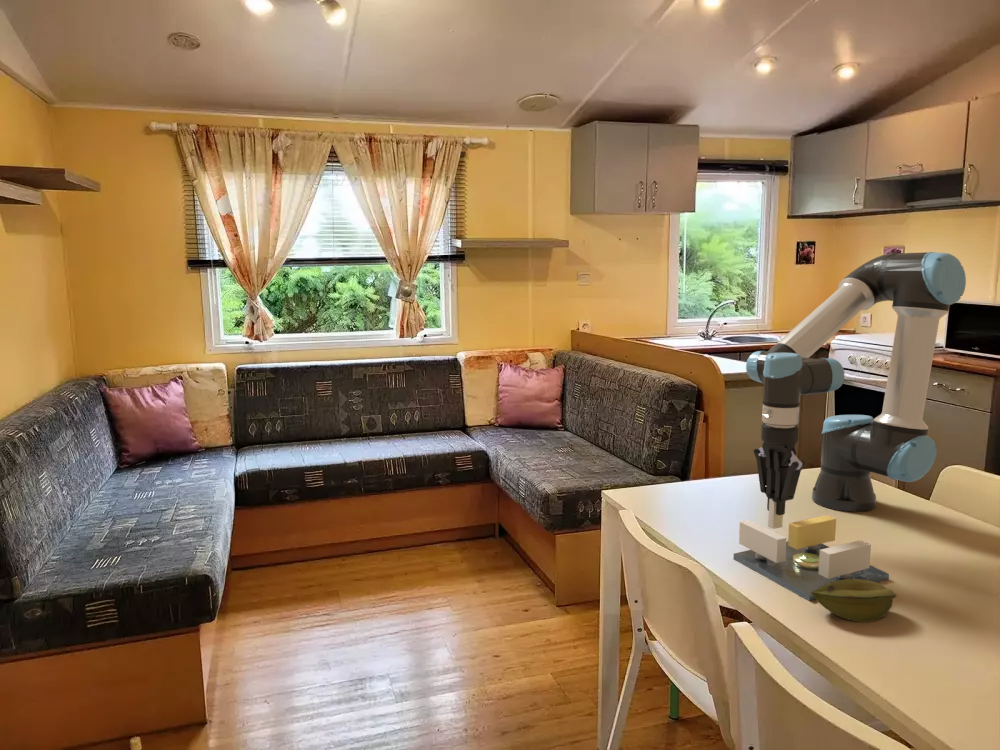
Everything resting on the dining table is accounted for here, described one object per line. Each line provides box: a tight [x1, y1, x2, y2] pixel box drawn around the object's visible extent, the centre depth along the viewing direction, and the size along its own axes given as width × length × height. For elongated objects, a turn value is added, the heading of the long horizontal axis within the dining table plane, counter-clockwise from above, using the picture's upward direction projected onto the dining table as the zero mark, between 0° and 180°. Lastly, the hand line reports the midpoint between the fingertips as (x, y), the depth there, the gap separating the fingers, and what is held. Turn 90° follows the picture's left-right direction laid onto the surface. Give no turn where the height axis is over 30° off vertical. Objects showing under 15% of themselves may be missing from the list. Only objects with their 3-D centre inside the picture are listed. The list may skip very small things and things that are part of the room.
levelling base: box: [733, 540, 890, 602], centre depth 147 cm, size 21×21×3 cm
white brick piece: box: [818, 539, 872, 579], centre depth 140 cm, size 11×2×6 cm, turn 113°
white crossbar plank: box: [738, 519, 787, 563], centre depth 149 cm, size 11×2×6 cm, turn 23°
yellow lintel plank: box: [787, 514, 837, 550], centre depth 153 cm, size 11×2×6 cm, turn 113°
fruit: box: [811, 579, 897, 623], centre depth 129 cm, size 11×12×7 cm
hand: (775, 526), depth 158 cm, fingers closed
